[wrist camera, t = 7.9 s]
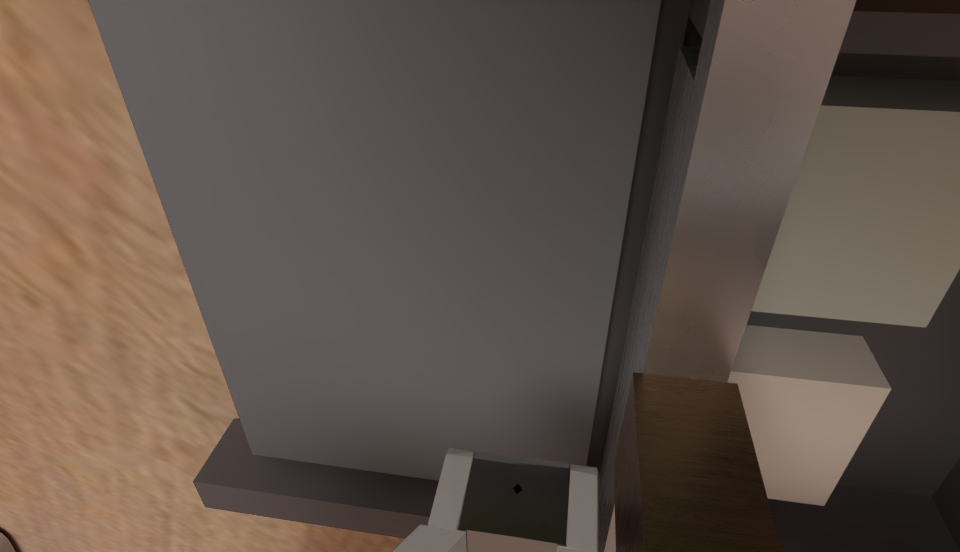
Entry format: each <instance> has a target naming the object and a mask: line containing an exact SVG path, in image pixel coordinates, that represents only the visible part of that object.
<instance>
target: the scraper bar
mask: <svg viewBox="0 0 960 552" xmlns="http://www.w3.org/2000/svg"><path fill="white" fill-rule="evenodd" d="M855 3H856V0H710V4H709V9H708V14H707V19H706V24H705V29H704V34H703V38H702V43H701V47H692V46H679V51H678V56H677V61H676V67H675V72H674V78H673V83H672V88H671V94H670V99H669V105H668V110H667V115H666V121H665V126H664V132H663V137H662V142H661V148H660V153H659V159H658V164H657V169H656V175H655V180H654V186H653V191H652V196H651V202H650V207H649V213H648V218H647V223H646V229H645V234H644V240H643V245H642V250H641V256H640V261H639V267H638V272H637V277H636V283H635V288H634V294H633V299H632V304H631V310H630V315H629V321H628V326H627V331H626V337H625V342H624V348H623V353H622V358H621V364H620V369H619V375H618V380H617V385H616V391H615V396H614V402H613V407H612V412H611V418H610V423H609V429H608V434H607V439H606V445H605V450H604V456H603V461H602V466H601V472H600V477H599V483H598V551H600V552H782V551H781V547H780V543H779V539H778V536H777V532H776V528H775V524H774V520H773V517H772V513H771V509H770V505H769V501H768V498H767V494H766V490H765V486H764V482H763V479H762V475H761V471H760V467H759V463H758V460H757V456H756V452H755V448H754V444H753V441H752V437H751V433H750V429H749V425H748V422H747V418H746V414H745V410H744V406H743V402H742V399H741V395H740V391H739V387H738V384H736V383H727V381H728V378H729V375H730V372H731V369H732V366H733V363H734V360H735V357H736V354H737V351H738V348H739V345H740V342H741V339H742V336H743V334H744V331H745V328H746V325H747V322H748V319H749V316H750V313H751V310H752V307H753V304H754V301H755V298H756V295H757V292H758V289H759V286H760V283H761V280H762V278H763V275H764V272H765V269H766V266H767V263H768V260H769V257H770V254H771V251H772V248H773V245H774V242H775V239H776V236H777V233H778V230H779V227H780V224H781V221H782V219H783V216H784V213H785V210H786V207H787V204H788V201H789V198H790V195H791V192H792V189H793V186H794V183H795V180H796V177H797V174H798V171H799V168H800V165H801V163H802V160H803V157H804V154H805V151H806V148H807V145H808V142H809V139H810V136H811V133H812V130H813V127H814V124H815V121H816V118H817V115H818V112H819V109H820V107H821V104H822V101H823V98H824V95H825V92H826V89H827V86H828V83H829V80H830V77H831V74H832V71H833V68H834V65H835V62H836V59H837V56H838V53H839V50H840V48H841V45H842V42H843V39H844V36H845V33H846V30H847V27H848V24H849V21H850V18H851V15H852V12H853V9H854V6H855Z"/></svg>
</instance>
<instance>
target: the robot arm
mask: <svg viewBox="0 0 960 552" xmlns="http://www.w3.org/2000/svg"><path fill="white" fill-rule="evenodd" d="M598 474H599V473H598V470H597V467H590V466H581V465H573V464H570V466H569V463H564V462H555V461H546V460H538V459H529V458H521V457H518V458H515V457H508V456H502V455H495V454H489V453H482V452H476V451H470V450H462V449H455V448H449V450H448V452H447V454H446V456H445V460H444V464H443V468H442V472H441V476H440V479H439V483H438V487H437V491H436V495H435V499H434V502H433V506H432V510H431V514H430V518H429V522H428V525H421V524H420V525H419V526H418V527H417V528H416V529H415V530H414V531H413V532H412V533H411V534H409V535H408V536H407V537H406V538H405V539H404V540H403V541H402V542H401V543H400V544H399V545H398V546H397V547H396V548H395V549H394V550H393V551H392V552H600V551H598ZM0 552H15V550H14V548H13V546H12V545H11V543H10V541H9V540H8V538H7V537H5V536H4V535H3V534H2V533H0Z"/></svg>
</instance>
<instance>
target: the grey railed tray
mask: <svg viewBox="0 0 960 552" xmlns="http://www.w3.org/2000/svg"><path fill="white" fill-rule="evenodd" d="M88 2H89V4H90V7H91V10H92V13H93V15H94V18H95V21H96V24H97V26H98V29H99V32H100V35H101V38H102V40H103V43H104V46H105V49H106V51H107V54H108V57H109V60H110V62H111V65H112V68H113V71H114V73H115V76H116V79H117V82H118V84H119V87H120V90H121V93H122V96H123V98H124V101H125V104H126V107H127V109H128V112H129V115H130V118H131V120H132V123H133V126H134V129H135V131H136V134H137V137H138V140H139V142H140V145H141V148H142V151H143V154H144V156H145V159H146V162H147V165H148V167H149V170H150V173H151V176H152V178H153V181H154V184H155V187H156V189H157V192H158V195H159V198H160V200H161V203H162V206H163V209H164V211H165V214H166V217H167V220H168V223H169V225H170V228H171V231H172V234H173V236H174V239H175V242H176V245H177V247H178V250H179V253H180V256H181V258H182V261H183V264H184V267H185V269H186V272H187V275H188V278H189V281H190V283H191V286H192V289H193V292H194V294H195V297H196V300H197V303H198V305H199V308H200V311H201V314H202V316H203V319H204V322H205V325H206V327H207V330H208V333H209V336H210V338H211V341H212V344H213V347H214V350H215V352H216V355H217V358H218V361H219V363H220V366H221V369H222V372H223V374H224V377H225V380H226V383H227V385H228V388H229V391H230V394H231V396H232V399H233V402H234V405H235V408H236V410H237V413H238V416H239V419H240V420H239V419H233V421H232V423H231V424H230V426H229V427H228V429H227V430H226V432H225V433H224V435H223V436H222V438H221V439H220V441H219V443H218V444H217V446H216V447H215V449H214V450H213V452H212V453H211V455H210V456H209V458H208V459H207V461H206V463H205V464H204V466H203V467H202V469H201V470H200V472H199V473H198V475H197V476H196V478H195V479H194V481H193V483H194V485H195V487H196V489H197V491H198V493H199V495H200V497H201V499H202V501H203V504H204V506H205V507H208V508H214V509H220V510H227V511H233V512H240V513H246V514H252V515H259V516H265V517H271V518H278V519H284V520H291V521H297V522H303V523H310V524H316V525H323V526H329V527H335V528H342V529H348V530H355V531H361V532H367V533H374V534H380V535H386V536H393V537H399V538H406V537H407V536H408V535H409V534H411V533H412V532H413V531H414V530H415V529H416V528H417V527H418V526H419V525H420V524H421V525H428V522H429V518H430V514H431V510H432V506H433V502H434V499H435V495H436V491H437V487H438V483H439V479H440V476H441V472H442V468H443V464H444V460H445V456H446V454H447V452H448V450H449V448H455V449H462V450H470V451H476V452H482V453H489V454H495V455H502V456H508V457H515V458H518V457H521V458H529V459H538V460H546V461H555V462H564V463H569V466H570V464H573V465H581V466H586V464H587V458H588V452H589V446H590V440H591V433H592V427H593V421H594V415H595V409H596V402H597V396H598V390H599V384H600V377H601V371H602V365H603V359H604V353H605V346H606V340H607V334H608V328H609V322H610V315H611V309H612V303H613V297H614V290H615V284H616V278H617V272H618V266H619V259H620V253H621V247H622V241H623V235H624V228H625V222H626V216H627V210H628V203H629V197H630V191H631V185H632V179H633V172H634V166H635V160H636V154H637V148H638V141H639V135H640V129H641V123H642V116H643V110H644V104H645V98H646V92H647V85H648V79H649V73H650V67H651V61H652V54H653V48H654V42H655V36H656V29H657V23H658V17H659V11H660V5H661V0H88Z"/></svg>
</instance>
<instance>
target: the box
mask: <svg viewBox="0 0 960 552" xmlns="http://www.w3.org/2000/svg"><path fill="white" fill-rule="evenodd" d="M709 4H710V0H661V5H660V11H659V17H658V23H657V29H656V36H655V42H654V48H653V54H652V61H651V67H650V73H649V79H648V85H647V92H646V98H645V104H644V110H643V116H642V123H641V129H640V135H639V141H638V148H637V154H636V160H635V166H634V172H633V179H632V185H631V191H630V197H629V203H628V210H627V216H626V222H625V228H624V235H623V241H622V247H621V253H620V259H619V266H618V272H617V278H616V284H615V290H614V297H613V303H612V309H611V315H610V322H609V328H608V334H607V340H606V346H605V353H604V359H603V365H602V371H601V377H600V384H599V390H598V396H597V402H596V409H595V415H594V421H593V427H592V433H591V440H590V446H589V452H588V458H587V464H586V466H590V467H597V470H598V473H599V474H598V483H599V477H600V472H601V466H602V461H603V456H604V450H605V445H606V439H607V434H608V429H609V423H610V418H611V412H612V407H613V402H614V396H615V391H616V385H617V380H618V375H619V369H620V364H621V358H622V353H623V348H624V342H625V337H626V331H627V326H628V321H629V315H630V310H631V304H632V299H633V294H634V288H635V283H636V277H637V272H638V267H639V261H640V256H641V250H642V245H643V240H644V234H645V229H646V223H647V218H648V213H649V207H650V202H651V196H652V191H653V186H654V180H655V175H656V169H657V164H658V159H659V153H660V148H661V142H662V137H663V132H664V126H665V121H666V115H667V110H668V105H669V99H670V94H671V88H672V83H673V78H674V72H675V67H676V61H677V56H678V51H679V46H692V47H701V43H702V38H703V34H704V29H705V24H706V19H707V14H708V9H709ZM831 76H854V77H878V78H902V79H926V80H950V81H960V0H856V3H855V6H854V9H853V12H852V15H851V18H850V21H849V24H848V27H847V30H846V33H845V36H844V39H843V42H842V45H841V48H840V50H839V53H838V56H837V59H836V62H835V65H834V68H833V71H832V74H831ZM747 325H753V326H763V327H773V328H783V329H794V330H804V331H814V332H824V333H835V334H845V335H855V336H863V338H864V340H865V341H866V343H867V345H868V347H869V349H870V351H871V352H872V354H873V356H874V358H875V360H876V361H877V363H878V365H879V367H880V369H881V371H882V372H883V374H884V376H885V378H886V380H887V382H888V383H889V385H890V387H891V391H890V392H889V394H888V396H887V398H886V399H885V401H884V403H883V405H882V406H881V408H880V410H879V411H878V413H877V415H876V417H875V418H874V420H873V422H872V424H871V425H870V427H869V429H868V431H867V432H866V434H865V436H864V438H863V439H862V441H861V443H860V444H859V446H858V448H857V450H856V451H855V453H854V455H853V457H852V458H851V460H850V462H849V464H848V465H847V467H846V469H845V471H844V472H843V474H842V476H841V478H840V479H839V481H838V483H837V484H836V486H835V488H834V490H833V491H832V493H831V495H830V497H829V498H828V500H827V502H826V504H825V505H824V506H820V505H813V504H805V503H798V502H791V501H783V500H776V499H768V501H769V505H770V509H771V513H772V517H773V520H774V524H775V528H776V532H777V536H778V539H779V543H780V547H781V551H782V552H960V269H959V271H958V273H957V275H956V276H955V278H954V280H953V282H952V283H951V285H950V287H949V289H948V290H947V292H946V294H945V296H944V297H943V299H942V301H941V303H940V304H939V306H938V308H937V309H936V311H935V313H934V315H933V316H932V318H931V320H930V322H929V323H928V325H927V327H926V328H925V327H914V326H904V325H893V324H882V323H872V322H861V321H851V320H840V319H829V318H819V317H808V316H798V315H787V314H776V313H766V312H755V311H751V313H750V316H749V319H748V322H747Z"/></svg>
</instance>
